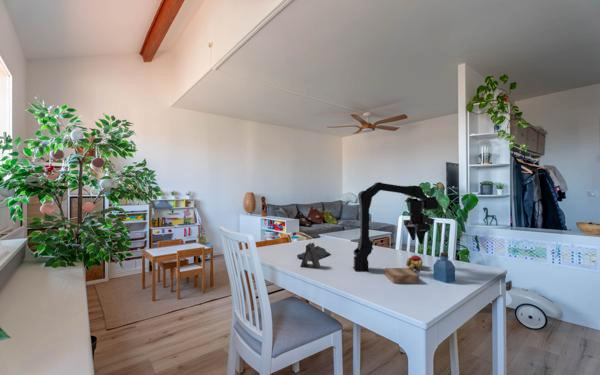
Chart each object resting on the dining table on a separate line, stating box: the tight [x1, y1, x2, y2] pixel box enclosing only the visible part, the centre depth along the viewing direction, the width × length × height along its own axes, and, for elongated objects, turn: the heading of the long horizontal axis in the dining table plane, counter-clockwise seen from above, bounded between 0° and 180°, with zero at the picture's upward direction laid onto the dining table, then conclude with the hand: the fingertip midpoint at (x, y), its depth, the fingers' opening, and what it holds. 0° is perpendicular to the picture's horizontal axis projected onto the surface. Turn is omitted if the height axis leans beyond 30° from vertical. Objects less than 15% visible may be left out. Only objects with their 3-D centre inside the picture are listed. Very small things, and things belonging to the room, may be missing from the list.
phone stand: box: [300, 242, 321, 270], centre depth 148 cm, size 9×6×12 cm, turn 69°
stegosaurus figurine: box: [296, 245, 331, 262], centre depth 170 cm, size 15×22×5 cm
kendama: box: [405, 254, 423, 272], centre depth 142 cm, size 8×6×18 cm
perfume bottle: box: [432, 251, 456, 284], centre depth 127 cm, size 6×6×12 cm
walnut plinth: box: [384, 267, 420, 284], centre depth 127 cm, size 11×11×4 cm
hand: (417, 241), depth 142 cm, fingers open, 9 cm apart
